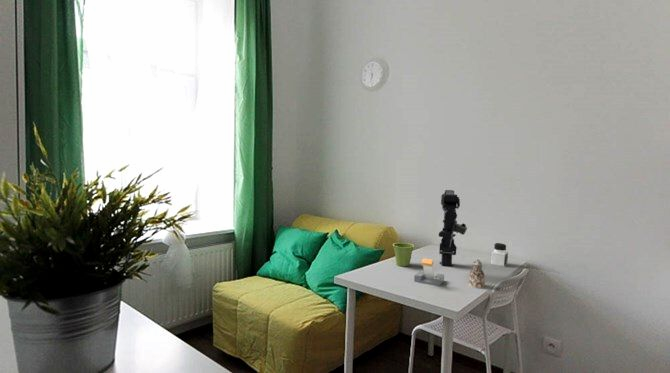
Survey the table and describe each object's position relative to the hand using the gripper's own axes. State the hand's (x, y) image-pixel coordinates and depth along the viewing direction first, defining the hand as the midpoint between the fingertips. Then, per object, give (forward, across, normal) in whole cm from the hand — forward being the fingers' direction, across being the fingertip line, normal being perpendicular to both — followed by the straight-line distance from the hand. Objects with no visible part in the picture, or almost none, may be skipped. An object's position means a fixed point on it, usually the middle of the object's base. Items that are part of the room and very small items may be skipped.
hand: (448, 248), depth 194 cm
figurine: (+13, -12, -16) cm, 24 cm away
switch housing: (+13, -19, +4) cm, 23 cm away
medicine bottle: (+13, +33, -21) cm, 42 cm away
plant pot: (+13, +1, +25) cm, 28 cm away
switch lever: (+11, -18, +4) cm, 21 cm away
